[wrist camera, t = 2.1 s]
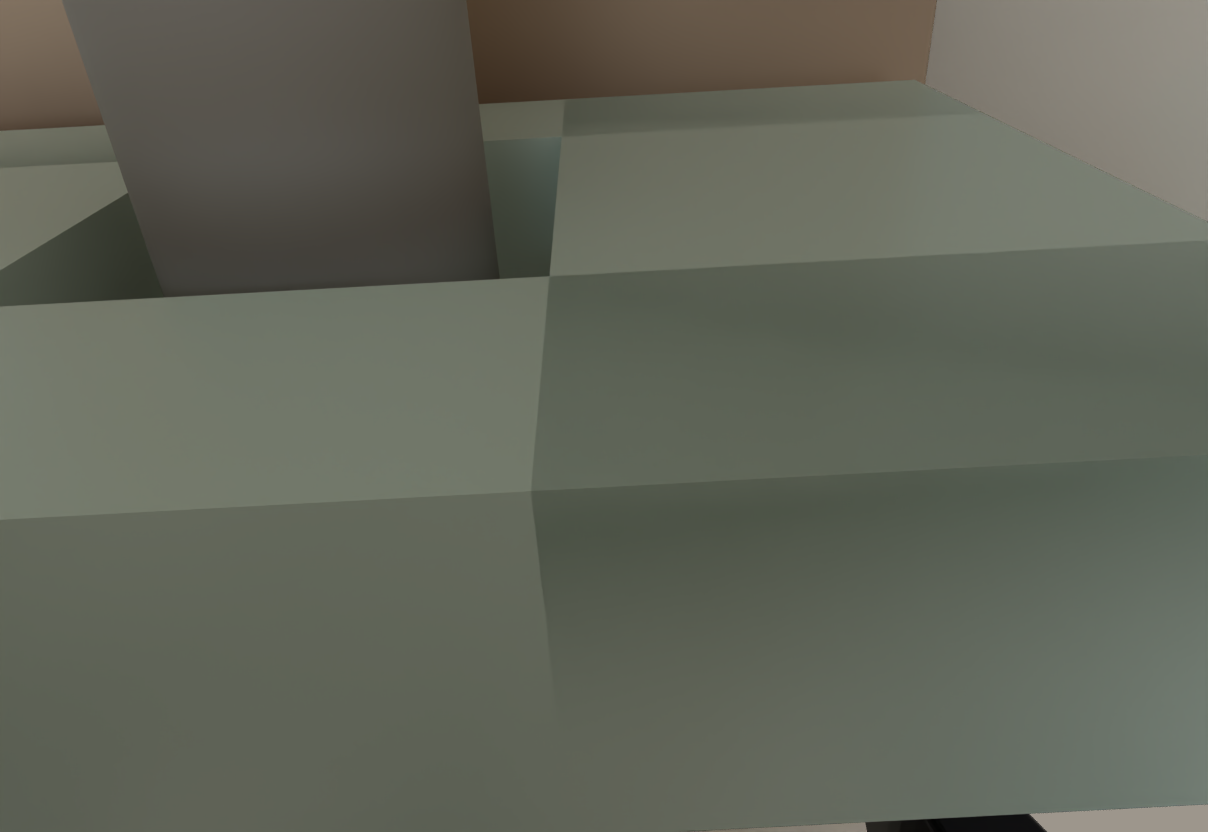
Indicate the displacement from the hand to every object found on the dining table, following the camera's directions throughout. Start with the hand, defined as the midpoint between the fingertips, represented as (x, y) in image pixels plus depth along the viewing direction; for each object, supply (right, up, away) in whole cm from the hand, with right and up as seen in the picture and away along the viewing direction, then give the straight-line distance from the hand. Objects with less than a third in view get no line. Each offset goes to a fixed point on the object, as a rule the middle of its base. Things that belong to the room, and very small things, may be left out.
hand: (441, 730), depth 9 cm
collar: (0, +6, +1) cm, 6 cm away
